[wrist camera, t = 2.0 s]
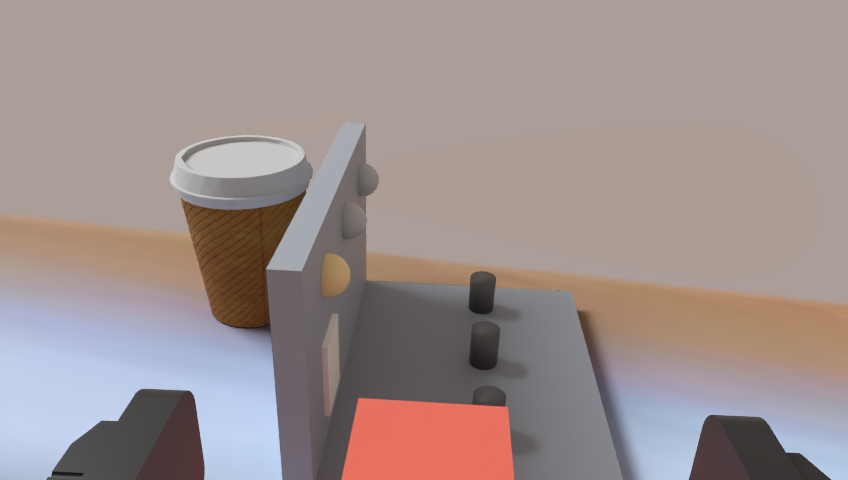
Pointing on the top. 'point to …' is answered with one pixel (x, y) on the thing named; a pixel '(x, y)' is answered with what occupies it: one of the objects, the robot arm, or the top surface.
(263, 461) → the top surface
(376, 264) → the top surface
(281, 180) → the disposable coffee cup
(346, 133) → the grey peg stand
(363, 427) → the tall coral upright block
